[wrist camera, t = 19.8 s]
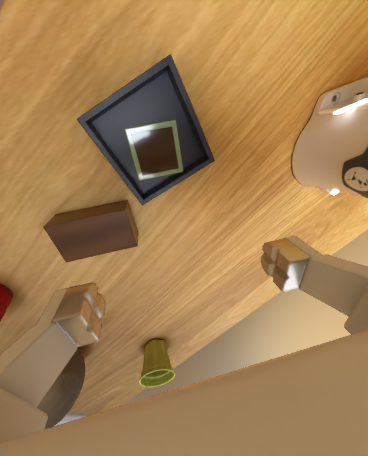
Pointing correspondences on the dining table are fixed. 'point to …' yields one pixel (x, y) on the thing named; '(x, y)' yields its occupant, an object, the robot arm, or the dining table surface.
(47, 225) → the walnut block
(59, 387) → the grey-brown rounded piece
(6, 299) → the plastic cup
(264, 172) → the dining table surface
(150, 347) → the plant pot
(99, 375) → the dining table surface
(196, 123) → the tray
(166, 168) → the green box
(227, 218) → the dining table surface
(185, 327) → the dining table surface
